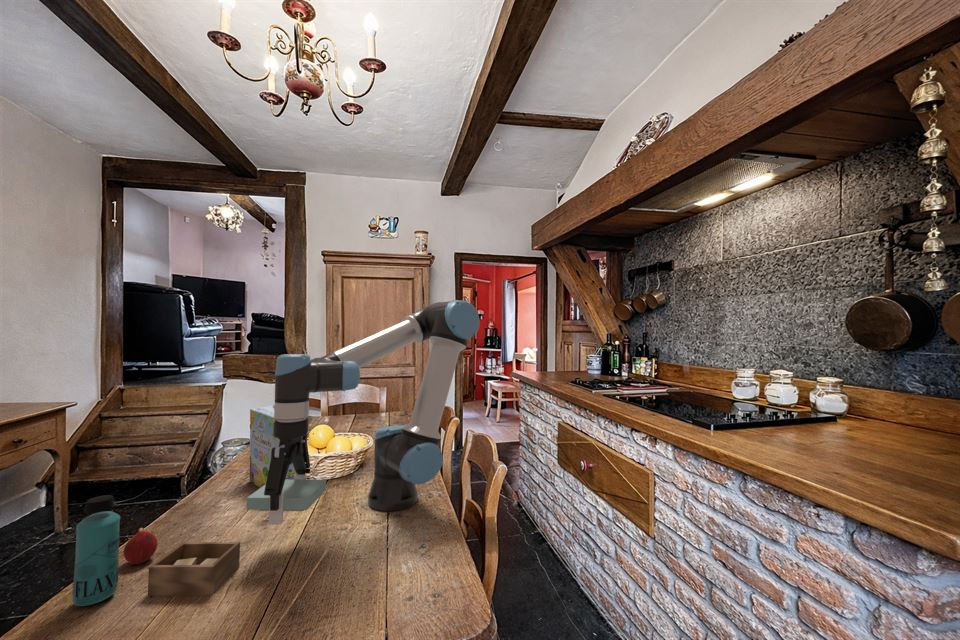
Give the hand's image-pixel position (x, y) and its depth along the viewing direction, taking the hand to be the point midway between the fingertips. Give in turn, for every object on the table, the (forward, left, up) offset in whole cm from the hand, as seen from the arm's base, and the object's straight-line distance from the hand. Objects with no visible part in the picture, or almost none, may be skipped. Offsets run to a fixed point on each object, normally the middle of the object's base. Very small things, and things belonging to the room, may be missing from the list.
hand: (288, 511), depth 95 cm
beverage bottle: (+29, +17, -10) cm, 35 cm away
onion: (+31, +4, -10) cm, 33 cm away
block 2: (+11, +11, -9) cm, 18 cm away
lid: (0, 0, +3) cm, 3 cm away
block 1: (+17, +11, -9) cm, 22 cm away
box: (+14, +11, -10) cm, 20 cm away
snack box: (+24, -42, -10) cm, 49 cm away
